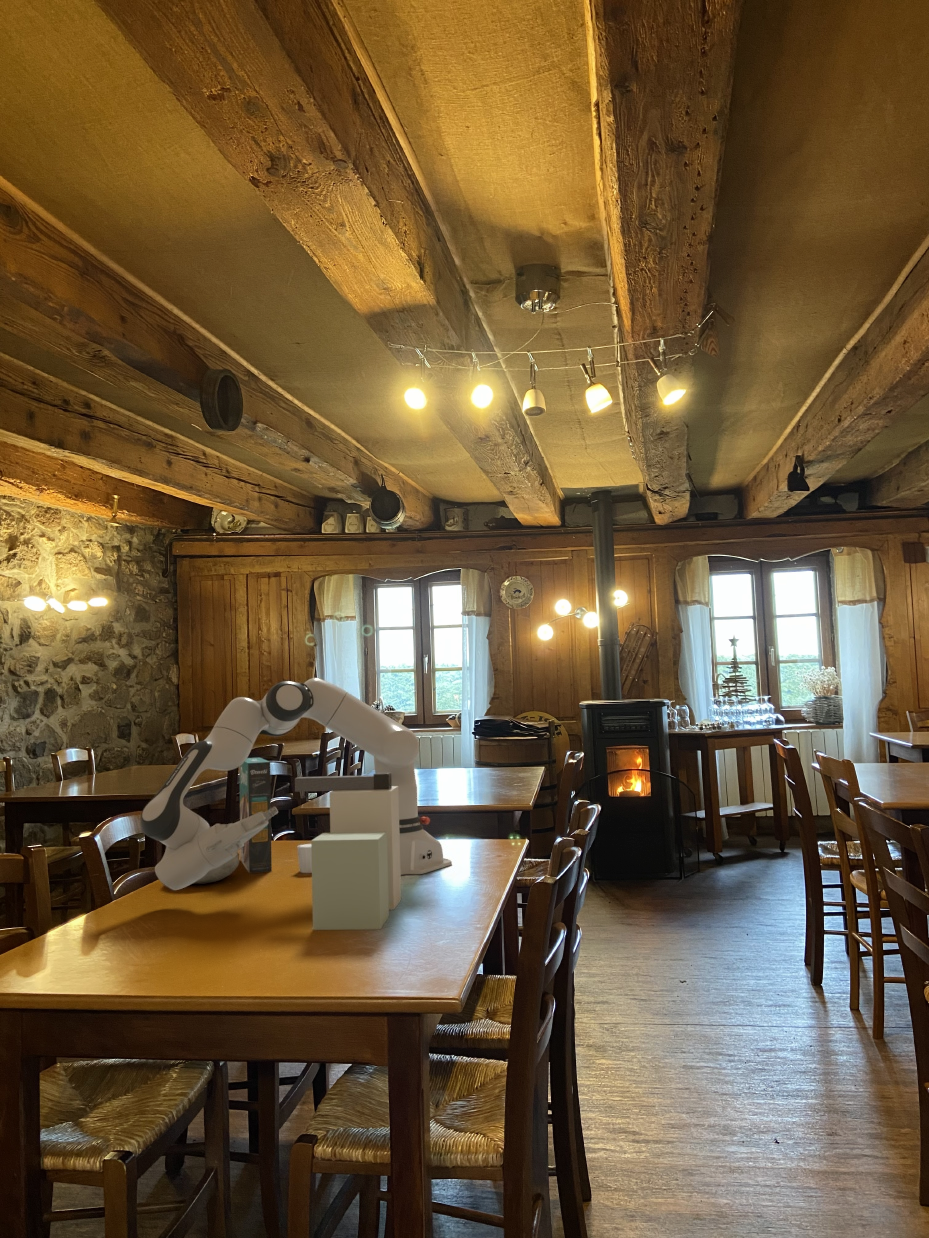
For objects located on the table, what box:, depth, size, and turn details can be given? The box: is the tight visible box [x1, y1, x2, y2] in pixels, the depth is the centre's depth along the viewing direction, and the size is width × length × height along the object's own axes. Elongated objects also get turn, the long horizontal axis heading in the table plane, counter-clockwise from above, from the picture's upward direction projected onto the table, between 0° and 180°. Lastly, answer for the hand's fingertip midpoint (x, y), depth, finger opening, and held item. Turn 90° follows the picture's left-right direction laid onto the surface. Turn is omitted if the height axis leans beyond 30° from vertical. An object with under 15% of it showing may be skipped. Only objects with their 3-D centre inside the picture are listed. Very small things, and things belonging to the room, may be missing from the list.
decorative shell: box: [191, 852, 241, 885], centre depth 232 cm, size 18×18×10 cm
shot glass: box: [296, 842, 312, 874], centre depth 241 cm, size 7×7×7 cm
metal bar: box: [294, 772, 392, 793], centre depth 202 cm, size 22×4×4 cm, turn 85°
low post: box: [311, 832, 390, 931], centre depth 184 cm, size 14×10×18 cm
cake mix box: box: [238, 757, 273, 874], centre depth 253 cm, size 22×6×30 cm, turn 21°
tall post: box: [329, 786, 402, 911], centre depth 201 cm, size 14×10×26 cm
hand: (269, 812), depth 203 cm, fingers open, 8 cm apart
